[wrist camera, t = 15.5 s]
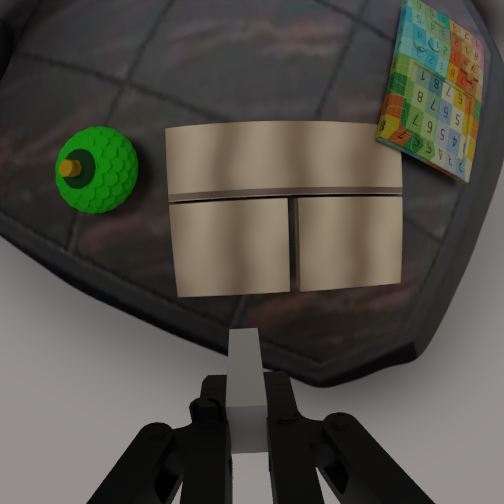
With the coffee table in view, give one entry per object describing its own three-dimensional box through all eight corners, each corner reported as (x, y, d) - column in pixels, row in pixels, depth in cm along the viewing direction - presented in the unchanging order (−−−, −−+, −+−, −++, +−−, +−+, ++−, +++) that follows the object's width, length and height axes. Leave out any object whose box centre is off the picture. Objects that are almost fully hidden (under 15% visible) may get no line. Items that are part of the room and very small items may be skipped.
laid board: (174, 200, 31) (168, 201, 29) (170, 132, 30) (165, 128, 27) (391, 193, 32) (402, 194, 29) (389, 129, 30) (399, 126, 28)
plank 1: (181, 289, 33) (177, 297, 31) (174, 203, 31) (169, 205, 29) (286, 284, 33) (289, 291, 31) (283, 197, 31) (287, 198, 29)
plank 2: (296, 285, 33) (300, 291, 31) (293, 197, 31) (298, 197, 29) (391, 277, 33) (400, 282, 31) (392, 196, 32) (402, 196, 29)
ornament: (72, 153, 30) (18, 146, 20) (135, 120, 29) (94, 98, 19) (94, 221, 31) (44, 236, 21) (159, 191, 31) (125, 195, 21)
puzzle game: (487, 40, 23) (473, 183, 26) (466, 51, 28) (448, 183, 31) (410, -11, 22) (384, 135, 25) (394, 6, 27) (364, 142, 30)
